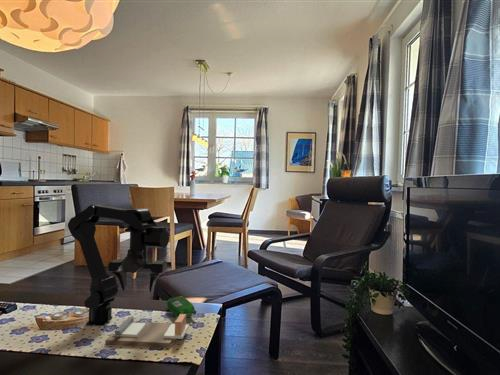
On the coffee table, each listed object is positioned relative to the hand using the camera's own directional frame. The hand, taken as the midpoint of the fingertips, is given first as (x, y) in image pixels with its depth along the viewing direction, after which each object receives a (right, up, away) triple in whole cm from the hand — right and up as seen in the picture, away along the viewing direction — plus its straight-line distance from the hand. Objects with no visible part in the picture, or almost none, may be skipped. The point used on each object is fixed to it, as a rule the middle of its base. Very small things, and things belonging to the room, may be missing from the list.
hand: (137, 290), depth 102 cm
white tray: (0, -11, -5) cm, 12 cm away
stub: (+15, -12, -5) cm, 20 cm away
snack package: (+12, -14, +13) cm, 22 cm away
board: (+4, -13, -5) cm, 15 cm away
